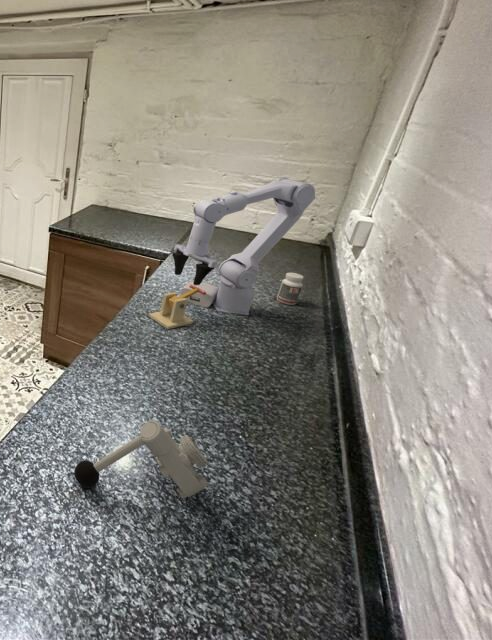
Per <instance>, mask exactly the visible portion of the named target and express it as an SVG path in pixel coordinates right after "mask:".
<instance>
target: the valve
mask: <svg viewBox="0 0 492 640" xmlns="http://www.w3.org/2000/svg"><path fill="white" fill-rule="evenodd" d="M139 431H140V434H139V435H138V436H136V437H135V438H133V439H131V440H130V441H128V442H126V443H125V444H124V445H122V446H120V447H119V448H117V449H115V450H114V451H112V452H110V453H109V454H107V455H106V456H104V457H102V458H101V459H99V460H98V461H96V462H95V463H94V462H92V461H91V460H82V461H79V462H78V463H77V464H76V465H75V468H74V477H75V479H76V482H77V483H78V484H79V485H80V486H82V487H83V488H87V489H90V488H93V487H95V486H96V485H97V484H98V483H99V480H100V472H102V471H103V470H105V469H106V468H109V466H111V465H113V464H114V463H116V462H119V460H121V459H123V458H124V457H126V456H127V455H129V454H131V453H132V452H134V451H135V450H137V449H139V448H141V447H142V446H146V448H147V449H148V450H149V452H151V454H152V455H153V457H155V458H157V459H156V463H157V464H158V470H159V472H160V474H161V475H162V477H163V478H168V479H172V481H173V482H174V483H175V484H176V486H177V488H176V491H177V493H178V494H179V496H180V497H181V498H182V499H187V498H191V497H192V496H194V495H196V494H198V493H199V492H200V491H202V490H204V489H205V488H206V487H208V486H209V483H208V480H207V479H206V478H205V476H204V475H202V473H199V474H198V473H197V470H196V468H195V467H194V465H196V467H197V468H198V469H201V468H203V467H205V466H207V465H209V462H208V460H207V459H206V457H205V455H204V454H203V453H202V451H201V449H199V448H198V446H197V444H195V442H194V441H193V439H192V438H191V437H190V436H189V435H188V434H184V435H182V437H180V438H178V441H179V443H180V444H179V445H178V443H177V442H176V440H174V439H173V438H174V436H173V432H172V431H171V430H170V429H169V428H168V427H167V426H164V427H163V426H162V425H161V424H160V423H159V422H158V421H157V420H154V419H149V420H148V421H147V422H146V423H144V424H143V425H142V426H141V428H140V430H139Z"/></svg>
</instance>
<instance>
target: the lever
mask: <svg viewBox="0 0 492 640" xmlns="http://www.w3.org/2000/svg"><path fill="white" fill-rule="evenodd" d="M189 287H190V288H192V289H193V290H191V291H189V292H187V293H185V294H183V295H181V294H180V295H181V296H180V295H179V296H178V295H177V296H176V295H175V296H173V297H171V298H169V299H168V305H169V306H171V307H172V308H173V304H174V300H177V299H182V298H188V297H190V296H192V295H194V294H195V293H197V292H200V293H202V294H204V295H205V294H206V292H205V291H203V290H201V289H199V288H197V287H195V286H193V285H190V286H189Z"/></svg>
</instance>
